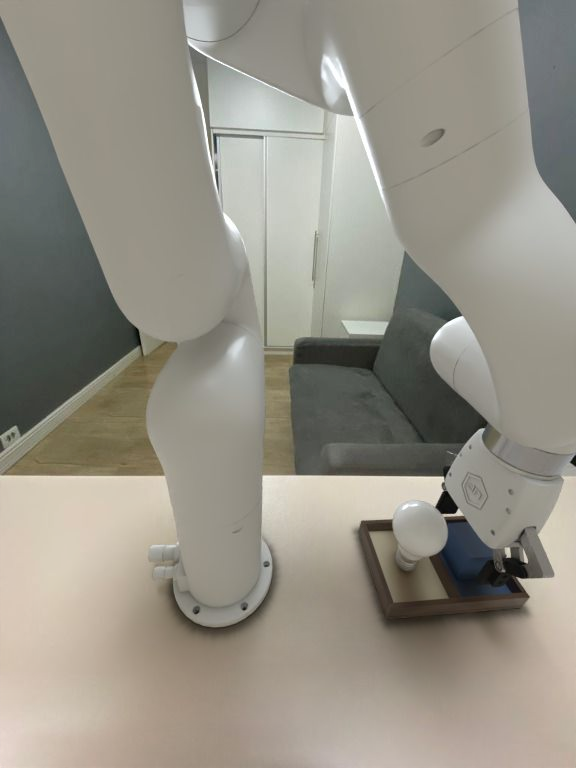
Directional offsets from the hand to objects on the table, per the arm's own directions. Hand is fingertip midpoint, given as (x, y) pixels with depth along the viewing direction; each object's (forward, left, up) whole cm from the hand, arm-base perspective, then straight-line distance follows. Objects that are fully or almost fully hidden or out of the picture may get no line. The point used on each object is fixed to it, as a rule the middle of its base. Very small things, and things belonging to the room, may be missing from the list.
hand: (464, 543), depth 41 cm
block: (+1, 0, -4) cm, 4 cm away
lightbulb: (-7, 0, -4) cm, 8 cm away
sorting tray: (-3, 0, -5) cm, 6 cm away
